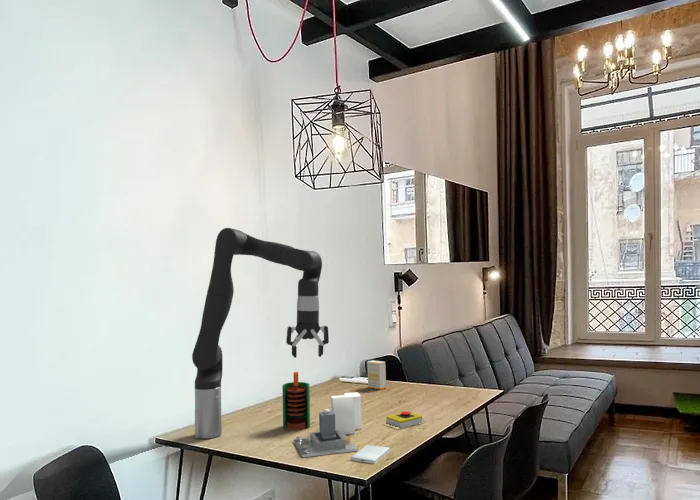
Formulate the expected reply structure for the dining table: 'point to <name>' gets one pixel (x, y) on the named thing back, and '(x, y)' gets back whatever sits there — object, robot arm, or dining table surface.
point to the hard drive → (370, 454)
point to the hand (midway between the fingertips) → (307, 356)
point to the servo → (327, 425)
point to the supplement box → (376, 374)
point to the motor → (296, 404)
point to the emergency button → (403, 419)
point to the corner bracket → (347, 412)
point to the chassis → (324, 445)
